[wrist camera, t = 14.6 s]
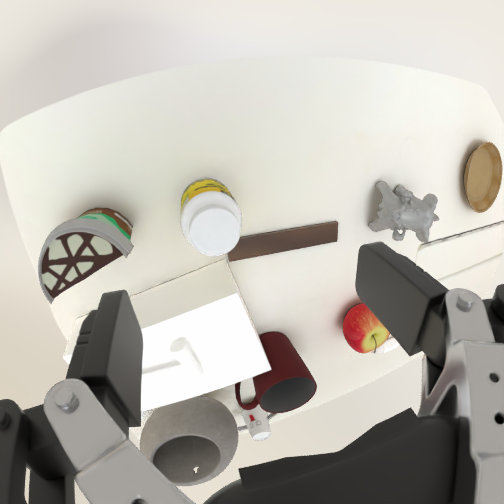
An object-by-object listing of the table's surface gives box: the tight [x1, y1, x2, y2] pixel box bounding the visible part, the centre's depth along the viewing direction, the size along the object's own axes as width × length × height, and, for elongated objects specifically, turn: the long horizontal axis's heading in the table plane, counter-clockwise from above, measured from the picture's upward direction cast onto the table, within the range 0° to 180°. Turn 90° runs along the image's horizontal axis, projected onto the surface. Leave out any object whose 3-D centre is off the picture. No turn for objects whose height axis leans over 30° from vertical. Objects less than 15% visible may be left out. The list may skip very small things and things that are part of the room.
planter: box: [140, 396, 238, 486], centre depth 42 cm, size 18×7×19 cm, turn 106°
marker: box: [371, 337, 400, 353], centre depth 57 cm, size 3×2×16 cm
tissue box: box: [63, 258, 272, 412], centre depth 38 cm, size 14×25×11 cm, turn 108°
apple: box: [343, 303, 390, 353], centre depth 46 cm, size 8×8×10 cm
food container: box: [38, 208, 134, 304], centre depth 29 cm, size 12×6×10 cm, turn 114°
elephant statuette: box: [369, 181, 439, 243], centre depth 39 cm, size 9×12×8 cm
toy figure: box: [238, 398, 278, 441], centre depth 51 cm, size 12×6×8 cm, turn 117°
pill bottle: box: [181, 178, 242, 256], centre depth 31 cm, size 6×6×11 cm
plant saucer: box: [464, 142, 502, 213], centre depth 44 cm, size 15×15×3 cm
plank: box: [228, 221, 338, 261], centre depth 41 cm, size 3×16×1 cm, turn 95°
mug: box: [235, 332, 317, 413], centre depth 44 cm, size 12×9×11 cm
